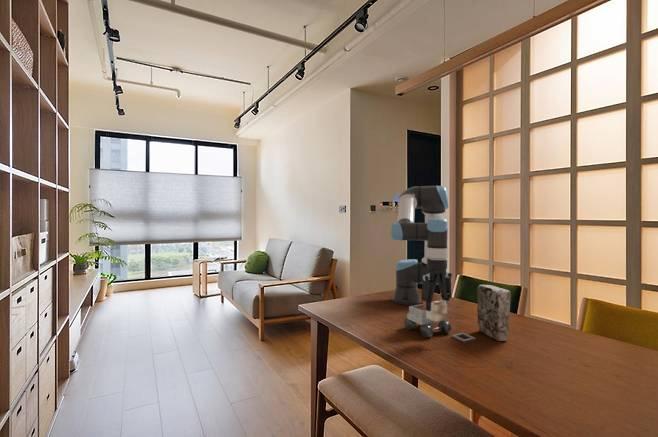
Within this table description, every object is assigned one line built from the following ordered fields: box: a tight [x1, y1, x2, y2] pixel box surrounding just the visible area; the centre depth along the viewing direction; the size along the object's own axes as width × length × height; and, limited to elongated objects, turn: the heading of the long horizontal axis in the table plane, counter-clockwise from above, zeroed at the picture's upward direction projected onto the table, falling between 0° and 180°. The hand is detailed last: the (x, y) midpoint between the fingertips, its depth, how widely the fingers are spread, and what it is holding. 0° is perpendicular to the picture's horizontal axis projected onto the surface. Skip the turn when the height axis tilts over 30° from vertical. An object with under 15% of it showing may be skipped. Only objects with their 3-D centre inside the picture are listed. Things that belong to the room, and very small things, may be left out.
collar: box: [450, 332, 477, 344], centre depth 135 cm, size 6×6×1 cm
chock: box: [426, 300, 448, 323], centre depth 132 cm, size 6×5×6 cm
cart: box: [403, 303, 452, 339], centre depth 144 cm, size 14×15×10 cm
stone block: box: [476, 284, 512, 342], centre depth 138 cm, size 13×7×20 cm, turn 19°
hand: (436, 317), depth 132 cm, fingers closed on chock, 6 cm apart
